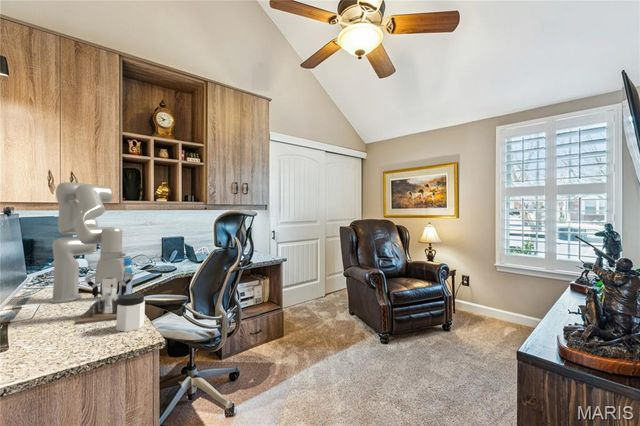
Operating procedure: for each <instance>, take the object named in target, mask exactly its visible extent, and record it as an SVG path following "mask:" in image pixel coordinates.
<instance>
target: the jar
mask: <svg viewBox="0 0 640 426" xmlns="http://www.w3.org/2000/svg"><path fill="white" fill-rule="evenodd" d="M145 307H146V301H145V294H143V293H132V294H127V295H123V296H120V297H119V305H117V320H116V326H115V327H116V329H115V330H116V331H118V332H125V333H126V332H131V331H136V330H140V329H141V328H143V326H145V313H146V312H145V311H146V310H145V309H146V308H145Z"/></svg>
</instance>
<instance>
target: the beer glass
mask: <svg viewBox="0 0 640 426" xmlns="http://www.w3.org/2000/svg"><path fill="white" fill-rule="evenodd" d="M99 286H100V287H99V293H100V298H101V299H100V300H102V308H101V314H111V313H115V312H117V300H118V295H119V291H120V282H117V280H116V278H112V279H103V280H102V283H99Z"/></svg>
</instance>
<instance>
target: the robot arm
mask: <svg viewBox="0 0 640 426" xmlns="http://www.w3.org/2000/svg"><path fill="white" fill-rule="evenodd" d="M55 197H56V200H57V202H58V220H57V231H58V232H59V233H60V234H61V235H67V237H66V236H65V237H60V238H56V239H55V240H54V241H53V242H52V248H51V249H52V254H53V281H52V282H53V283H52V284H53V285H52V297H51V298H48V302H47V303H51V304H60V303H61V304H62V303H69V302H75V301H78V300H81V299H82V297H83V296H82V294H79V277H80V263H79V262H78V260H77V259H76V258H75V256H83V255H84V256H85V255H92V254H94V253H95V252H96V250H97V246H98V245H100V249H99V251H100V255H99V256H100V257H99V259H98V260H97V263H96V268H95V273H93V274H90V275H89V276H86V277H84V280H85V282H86V283H87V285H88V286H89V287H90V288H91V289H92V296H93V298H94V299H95V298H97V297H98V296H99V286H98V285H100V284H101V283H102V280H103V279H112V278H116V280H117V282H120V283H121V284H122V287H121V295H124V293H126V285H127V284H128V283H129V282H130V281H131V280H132V281H133V279H134V277H135V275H134V274H133V273H132V274H130V273H128V272H125V264H124V259H125V258H123V257H126V256H127V255H126V252H123V251H122V250H123V230H122V228H121V227H112V226H99V222H98V221H97V219H96V218H98V217H100V216H102V215H104V213H105V212H106V208H105V205H104V204H108V203H110V202H112V201H113V199H114V193H113V190H112V189H111V188H110V187H109V186H106V185H99V184H93V183H92V184H90V183H82V182H73V181H72V182H71V181H70V182H69V181H66V182H64V181H63V182H60V183H59V184H57V186H56V189H55ZM68 235H69V236H68ZM71 235H76V236H71ZM125 275H126V276H128V277H129V279H128V280H127V281H125V280H124V279H125ZM93 278H94V281H95V282H94V281H92V280H91V279H93ZM132 278H133V279H132Z"/></svg>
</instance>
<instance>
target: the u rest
mask: <svg viewBox="0 0 640 426" xmlns="http://www.w3.org/2000/svg"><path fill="white" fill-rule="evenodd" d="M117 305H119V299H118V300H117ZM101 308H102V300H101V299H98V300H96V301H95V302H93V304H92V305H91V306H89V308H88V309H87V310H86V312H84V313H83V314H82V315H81V316H80V317H79V318H78V319H76V321H75V322H74V323H75V325H81V324H89V323H101V322H108V321H117V312H115V313H111V314H101Z"/></svg>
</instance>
